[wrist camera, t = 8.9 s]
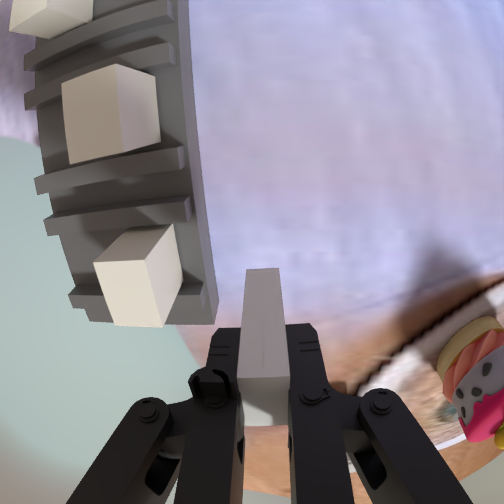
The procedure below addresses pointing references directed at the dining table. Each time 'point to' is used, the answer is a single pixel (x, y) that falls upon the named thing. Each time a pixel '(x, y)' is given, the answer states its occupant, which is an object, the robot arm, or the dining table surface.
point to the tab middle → (109, 112)
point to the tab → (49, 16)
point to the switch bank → (126, 153)
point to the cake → (476, 378)
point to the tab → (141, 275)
